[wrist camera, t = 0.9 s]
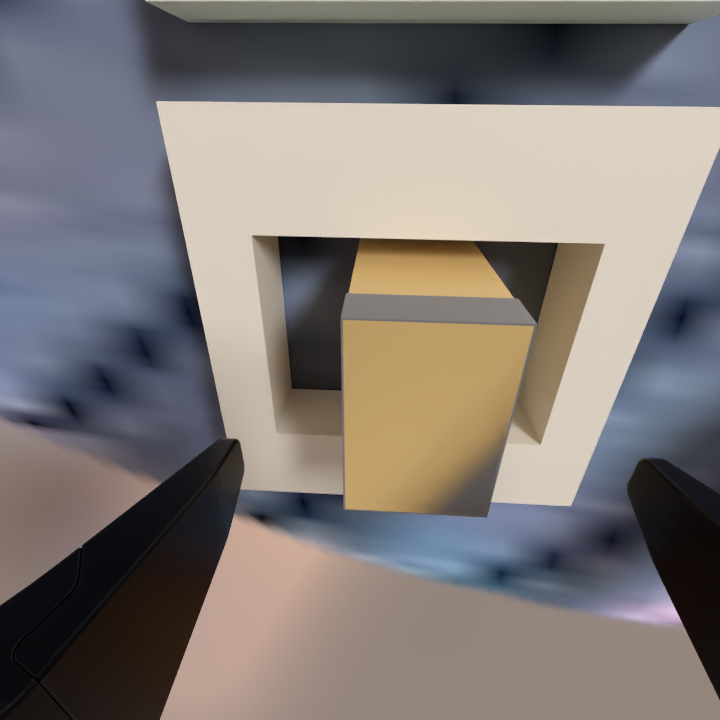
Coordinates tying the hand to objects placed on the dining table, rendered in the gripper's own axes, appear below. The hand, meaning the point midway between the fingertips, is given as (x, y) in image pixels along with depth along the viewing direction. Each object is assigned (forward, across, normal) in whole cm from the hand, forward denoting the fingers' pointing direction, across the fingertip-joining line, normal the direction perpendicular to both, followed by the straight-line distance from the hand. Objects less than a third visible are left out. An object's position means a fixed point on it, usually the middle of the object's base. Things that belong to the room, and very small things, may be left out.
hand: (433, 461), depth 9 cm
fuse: (+8, 0, 0) cm, 8 cm away
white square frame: (+8, 0, 0) cm, 8 cm away
